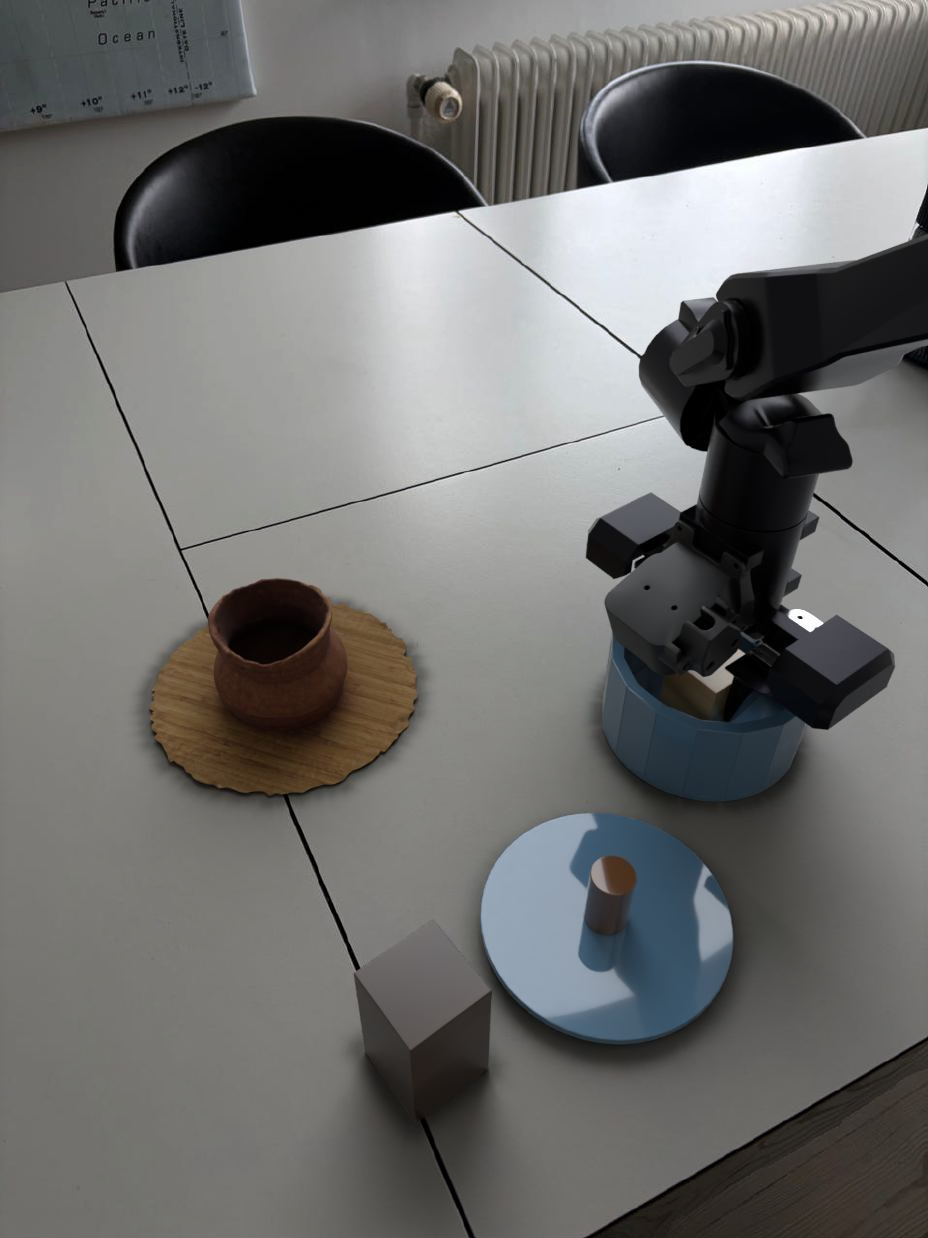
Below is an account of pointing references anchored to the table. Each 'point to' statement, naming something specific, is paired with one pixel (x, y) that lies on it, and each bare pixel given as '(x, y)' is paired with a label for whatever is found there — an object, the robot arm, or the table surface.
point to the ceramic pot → (282, 691)
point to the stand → (424, 1019)
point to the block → (699, 692)
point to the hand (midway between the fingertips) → (704, 698)
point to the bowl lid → (606, 928)
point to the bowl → (694, 737)
